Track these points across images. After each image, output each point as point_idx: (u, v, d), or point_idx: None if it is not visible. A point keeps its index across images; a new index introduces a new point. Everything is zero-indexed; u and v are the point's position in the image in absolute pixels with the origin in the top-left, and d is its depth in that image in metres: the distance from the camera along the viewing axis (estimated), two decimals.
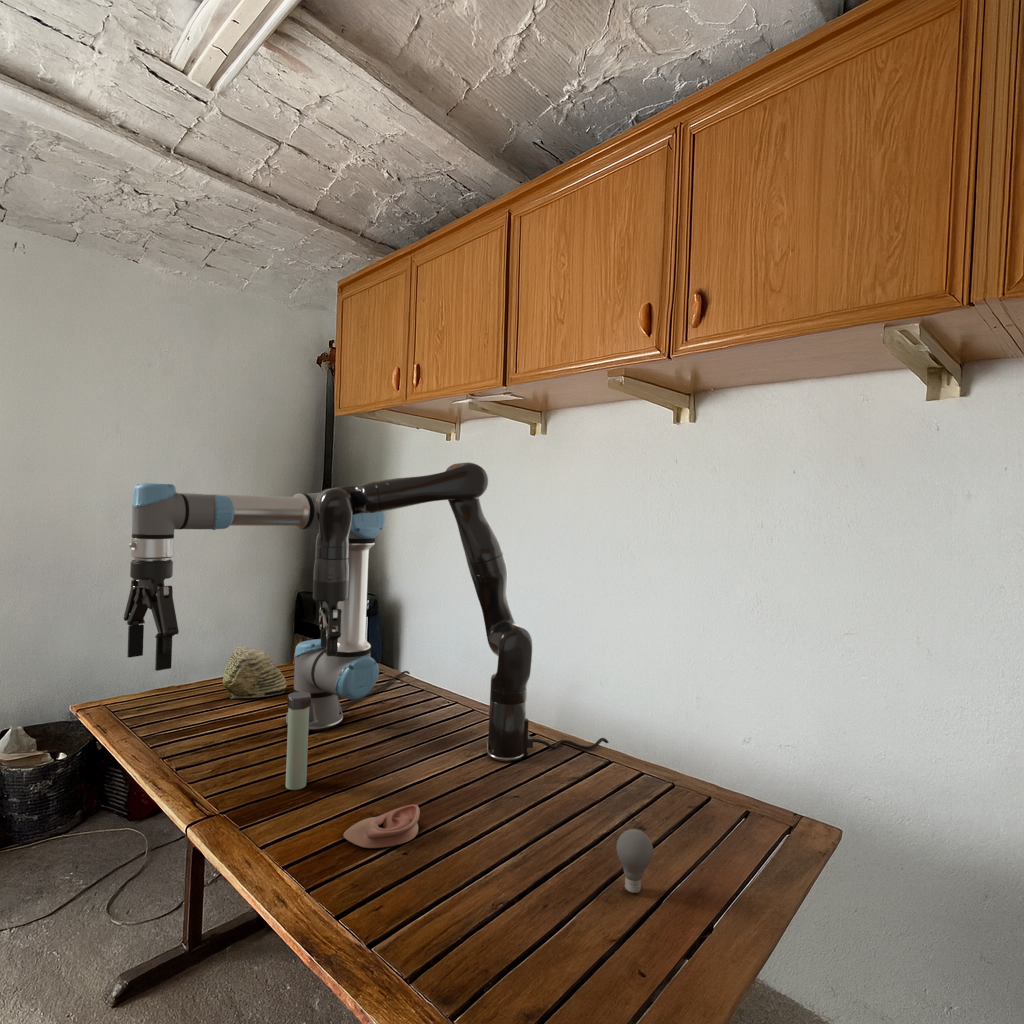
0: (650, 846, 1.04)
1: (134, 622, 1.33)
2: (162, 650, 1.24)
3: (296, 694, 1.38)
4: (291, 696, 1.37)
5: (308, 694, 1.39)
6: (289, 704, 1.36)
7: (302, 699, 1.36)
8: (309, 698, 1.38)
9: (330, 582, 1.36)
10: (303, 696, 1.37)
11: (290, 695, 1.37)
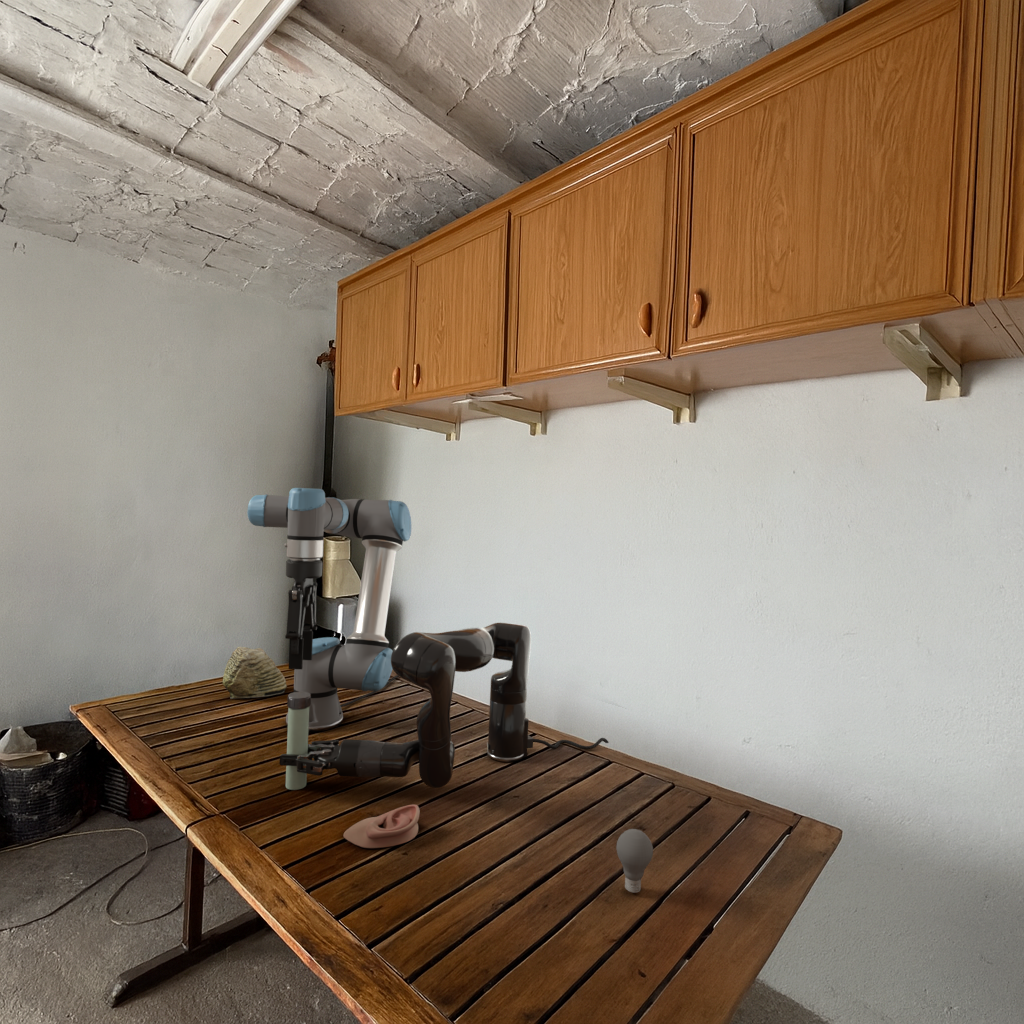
0: (650, 846, 1.04)
1: (306, 626, 1.42)
2: None
3: (296, 694, 1.38)
4: (291, 696, 1.37)
5: (308, 694, 1.39)
6: (289, 704, 1.36)
7: (302, 699, 1.36)
8: (309, 698, 1.38)
9: None
10: (303, 696, 1.37)
11: (290, 695, 1.37)
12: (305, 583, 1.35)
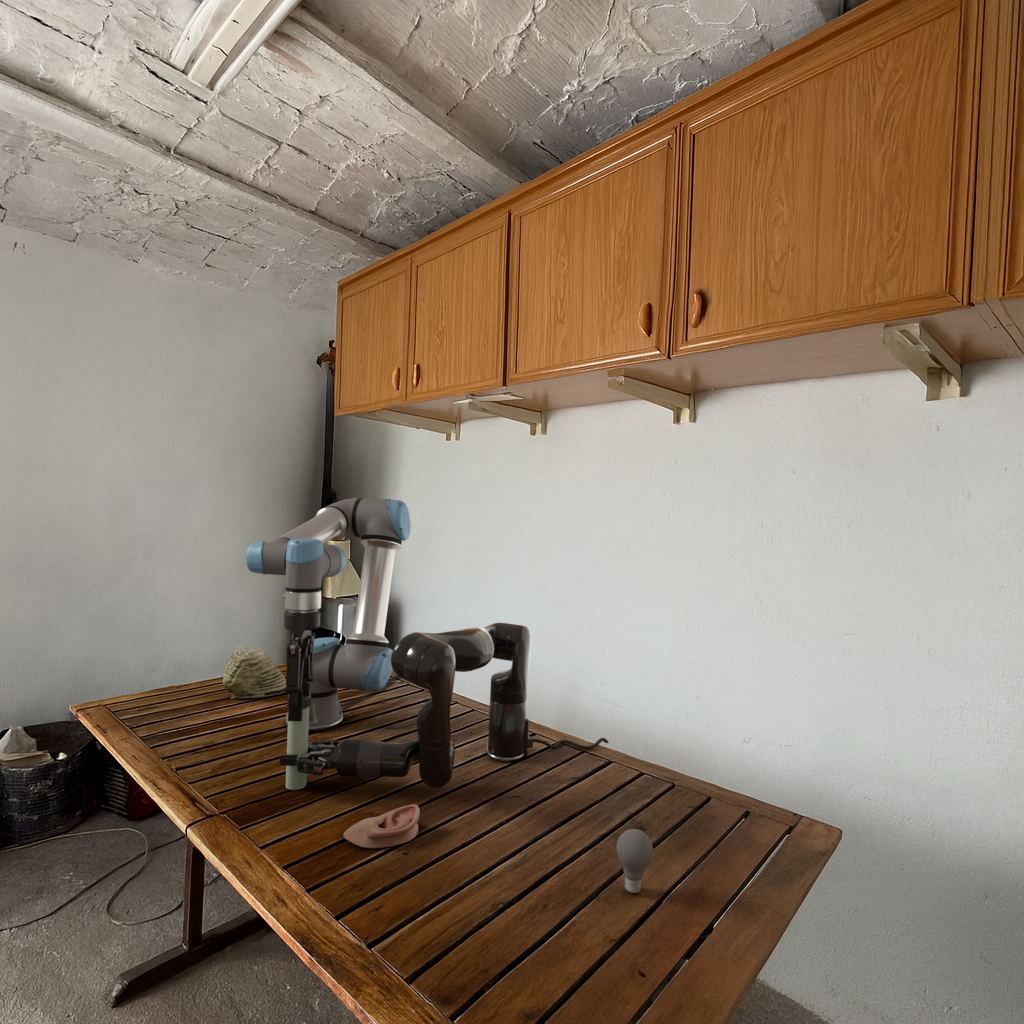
0: (650, 846, 1.04)
1: (302, 678, 1.41)
2: None
3: None
4: None
5: (308, 694, 1.39)
6: None
7: None
8: (309, 698, 1.38)
9: None
10: (303, 696, 1.37)
11: None
12: (303, 635, 1.35)
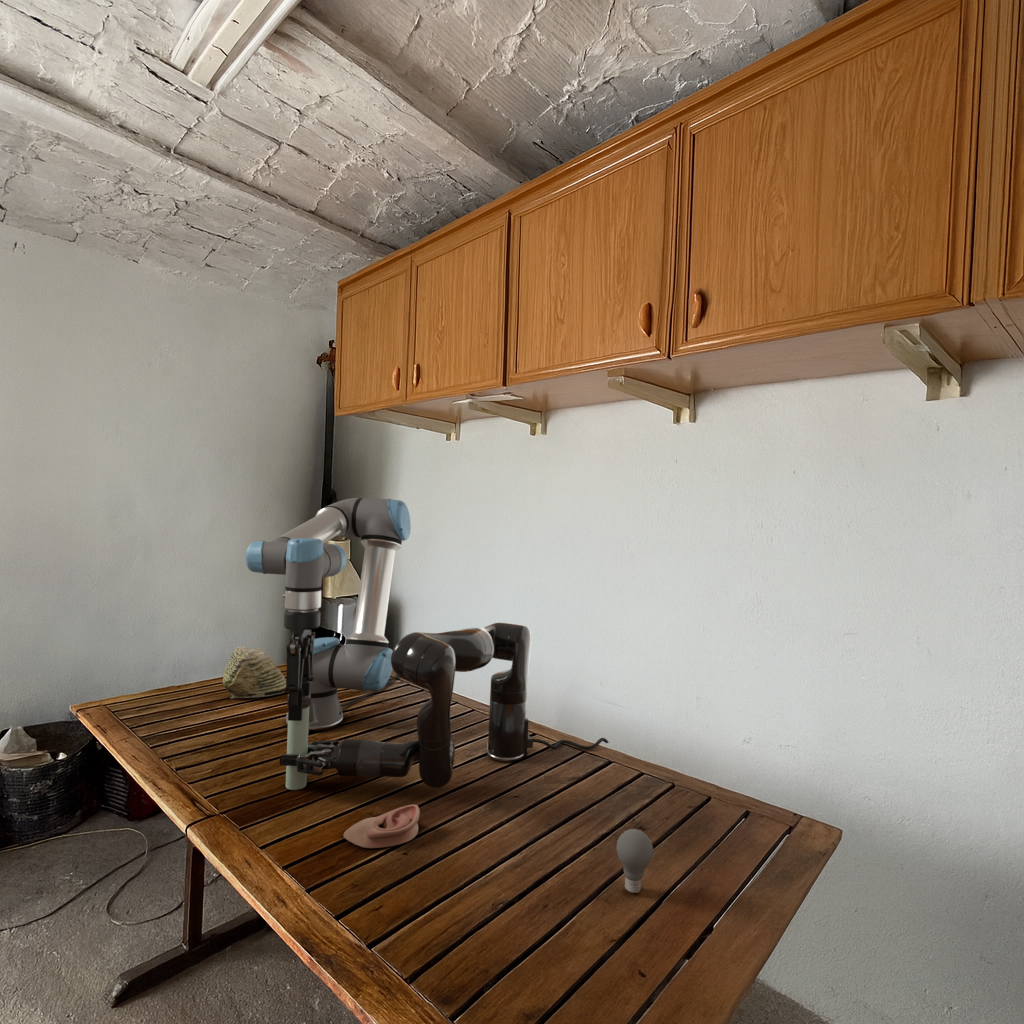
0: (650, 846, 1.04)
1: (302, 678, 1.41)
2: None
3: None
4: (303, 696, 1.37)
5: None
6: (304, 704, 1.37)
7: None
8: None
9: None
10: (305, 692, 1.39)
11: None
12: (303, 634, 1.35)
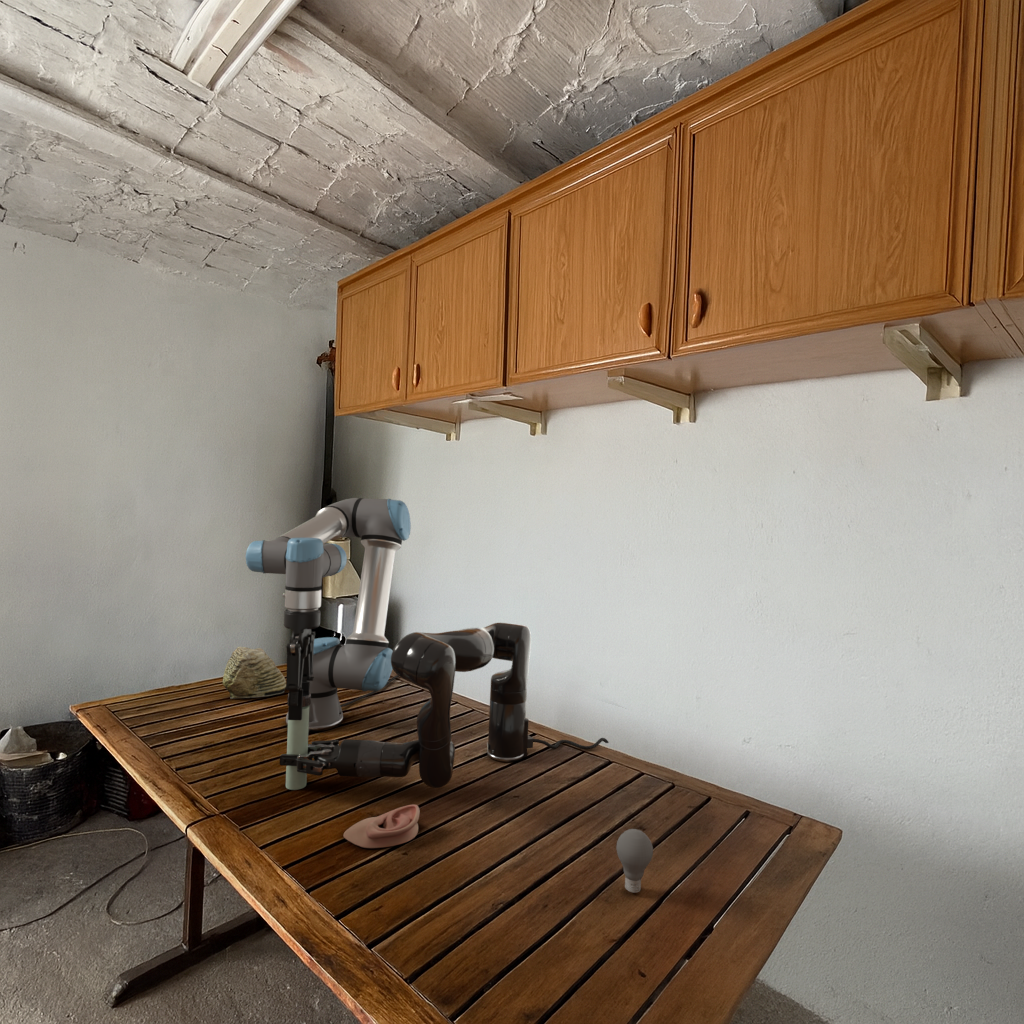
0: (650, 846, 1.04)
1: (302, 677, 1.41)
2: None
3: None
4: (307, 692, 1.39)
5: None
6: None
7: None
8: None
9: None
10: None
11: (308, 693, 1.39)
12: (303, 634, 1.35)
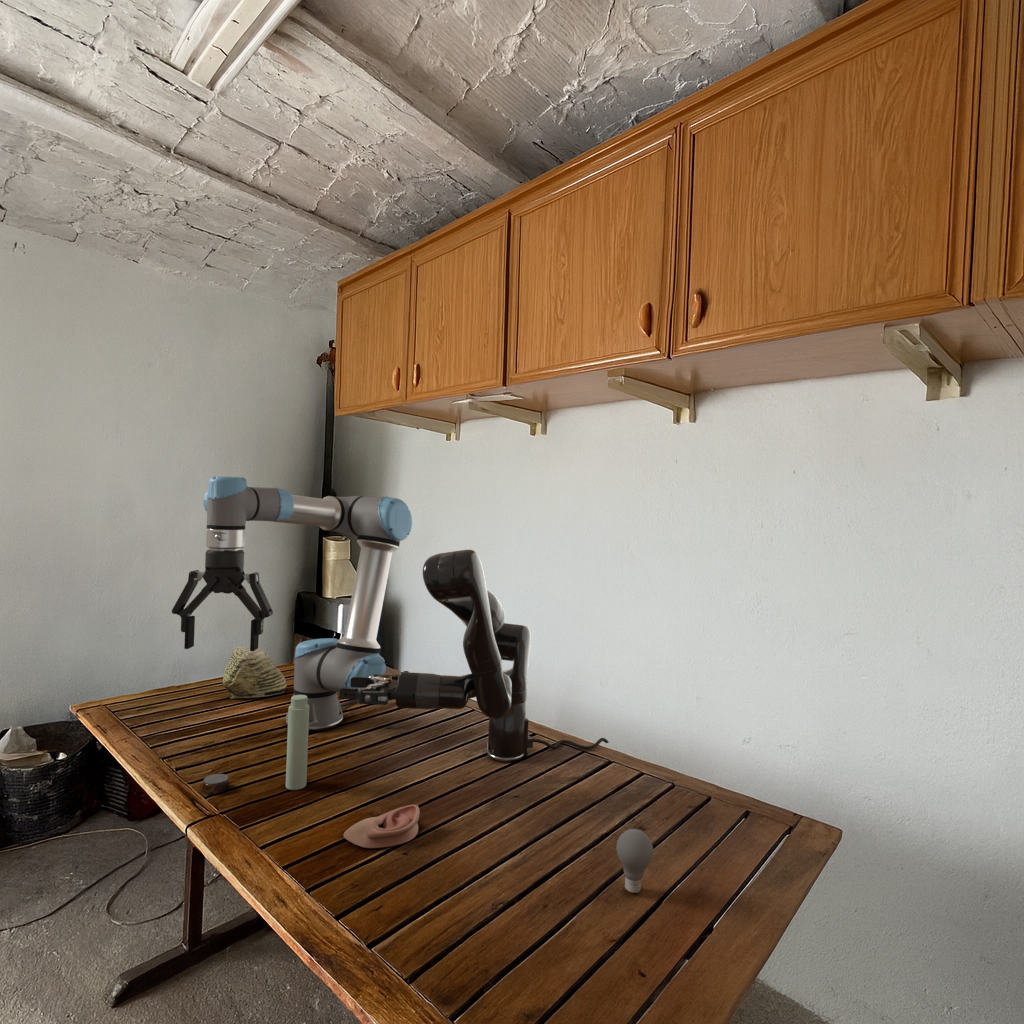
0: (650, 846, 1.04)
1: (188, 614, 1.34)
2: (258, 631, 1.34)
3: (218, 779, 1.35)
4: (224, 776, 1.36)
5: (206, 778, 1.35)
6: None
7: None
8: None
9: None
10: (213, 776, 1.36)
11: (225, 777, 1.35)
12: None
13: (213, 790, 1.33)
